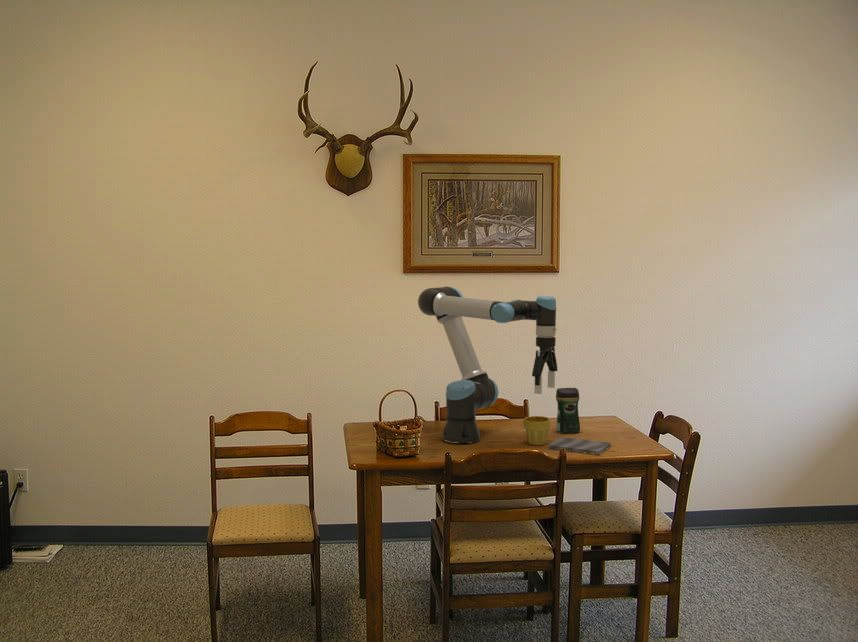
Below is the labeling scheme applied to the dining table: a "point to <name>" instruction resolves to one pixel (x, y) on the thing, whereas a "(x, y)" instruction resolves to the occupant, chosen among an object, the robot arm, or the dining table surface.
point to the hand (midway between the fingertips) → (544, 390)
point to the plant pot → (537, 429)
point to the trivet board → (579, 445)
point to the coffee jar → (567, 410)
